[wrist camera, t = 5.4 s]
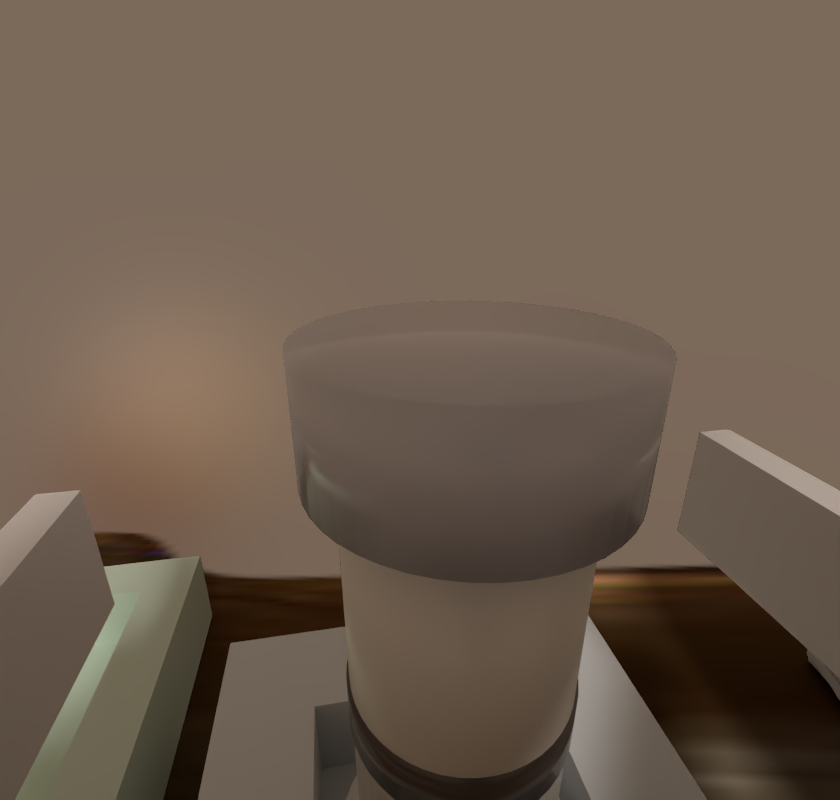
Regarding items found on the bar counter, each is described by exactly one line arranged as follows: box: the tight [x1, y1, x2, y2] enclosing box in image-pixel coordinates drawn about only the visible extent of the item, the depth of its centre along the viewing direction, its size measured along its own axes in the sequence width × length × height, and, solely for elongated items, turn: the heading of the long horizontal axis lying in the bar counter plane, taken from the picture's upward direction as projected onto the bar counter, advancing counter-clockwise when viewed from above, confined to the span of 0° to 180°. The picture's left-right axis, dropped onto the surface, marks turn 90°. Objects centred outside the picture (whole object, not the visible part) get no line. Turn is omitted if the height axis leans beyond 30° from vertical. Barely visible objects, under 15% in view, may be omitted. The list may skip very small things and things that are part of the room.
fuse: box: [283, 301, 677, 800], centre depth 9 cm, size 5×5×13 cm
